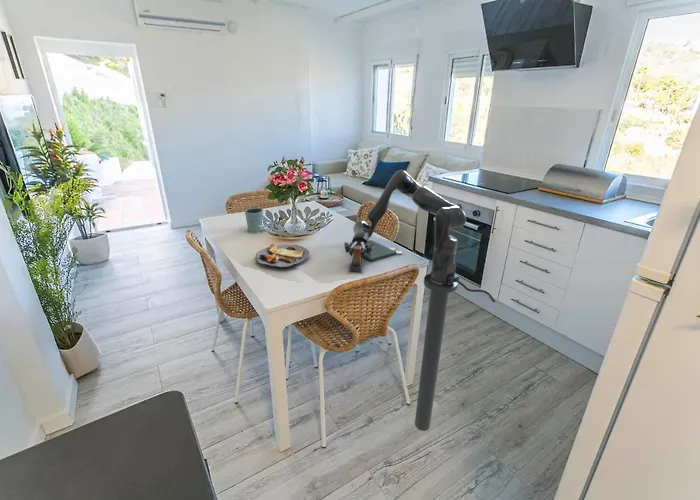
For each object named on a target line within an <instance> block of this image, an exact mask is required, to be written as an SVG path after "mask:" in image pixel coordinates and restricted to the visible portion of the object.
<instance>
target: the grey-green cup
mask: <svg viewBox="0 0 700 500" xmlns="http://www.w3.org/2000/svg"><path fill="white" fill-rule="evenodd" d="M244 215H245V220H246V225H247V229H248V232H249V233H259V232H263V231H264V230H262V229H261V228H260V227H259V226H258V225H262V220H263V221H264V210H263V208H259V207H251V208H247V209H245V210H244Z"/></svg>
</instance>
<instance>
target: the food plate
mask: <svg viewBox="0 0 700 500" xmlns="http://www.w3.org/2000/svg"><path fill="white" fill-rule="evenodd" d="M310 255H311V252H310V250H309V249H308V248H307V247H304V246H303V245H297V244H288V243H287V244H278V245H275V244H271V245H270V246H268V247H265V248H263V249H261V250H259V251H258V252H257V253H256V254H255V257H254V259H255V260H256V262H258V264H262V265H266V266H269V267H278V268H285V267H286V268H287V267H291V266H293V265H296V264H297V265H298V264H299V263H302V262H303V261H305V260H306V259H307V258H308V257H310Z"/></svg>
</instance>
